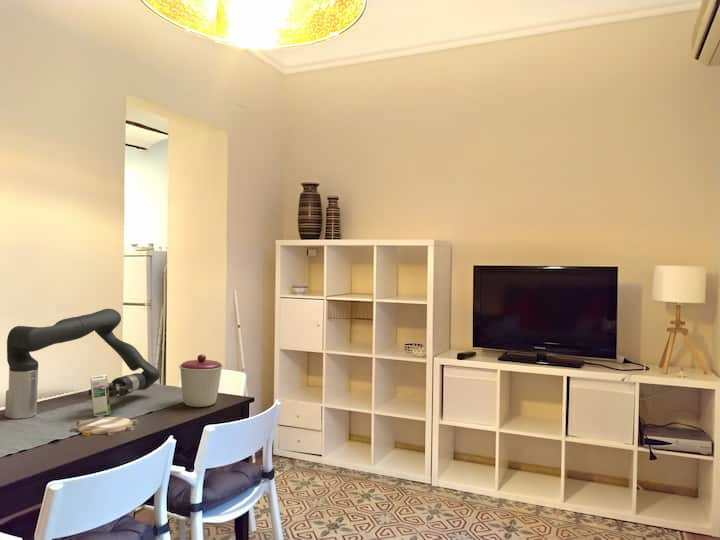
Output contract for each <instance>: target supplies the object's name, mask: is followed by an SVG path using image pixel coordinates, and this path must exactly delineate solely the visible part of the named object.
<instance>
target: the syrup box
mask: <svg viewBox="0 0 720 540" xmlns="http://www.w3.org/2000/svg"><path fill="white" fill-rule="evenodd" d="M89 379H90V389H91V391H92V395H91V401H92V411H93V412H92V413H93V417H94V416H98V417H99V416H103V417H105V416H109V415H111V404H110V403H111V401H110V397H109V387H108V383H109V377H108V375H107V374H103V375H96V376H94V375H93V376H90V378H89Z"/></svg>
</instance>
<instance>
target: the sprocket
mask: <svg viewBox="0 0 720 540" xmlns="http://www.w3.org/2000/svg"><path fill="white" fill-rule="evenodd" d="M77 424H78V425H77ZM138 424H139V420H138V419H130V418H127V416H126V415H125V416H124V415H120V416H98V417H94V418H91V419H87V420H86V419H85V420H83V419H82V420H78V421H76V425H77V426H70V427H71V428H70V431H71V430H72V431H71V432H79V433H81V434H82V435H81V436H87V437H89V436H91V435H107V436H114V435H115V434H116V433H121V431H122V432H124V431H134V430H135V426H134V425H138ZM76 430H78V431H76Z"/></svg>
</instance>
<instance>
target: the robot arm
mask: <svg viewBox="0 0 720 540" xmlns="http://www.w3.org/2000/svg"><path fill="white" fill-rule="evenodd" d="M121 320H122V316H121V313H119V312H118V311H117V310H116V309H112V308H104V309H101V310H99V311H95V312H92V313H87V314H84V315H83V314H82V315H77V316H71V317H67V318H63V319H60V320H59V321H57V322H55V324H53V325H51V326H50V325H48V326H41V327H39V326H37V327H36V326H28V325H27V326H25V325H17V326H14V327H12V328H11V329H10V330H9V333H8V334H7V339H6V361H7V364H8V389H7V390H6V391H5V404H4V405H5V408H4V417H7V418H9V419H14V420H15V419H17V420H19V419H20V418H21V419H28V418H32V417H34V415H35V416H36V415H37V407H38V406H37V405H38V385H39V383H38V382H39V361H38V360H37V359H35V358H34V357H33V356H31V353H32V352H37V351H40V350H43V349H45V348H48V347H50V346H53V345H55V344H56V345H57V344H62V343H66V342H67V343H68V342H72V341H75V340H79V339H81V338H83V337H86V336H88V335H89V334H91V333H93V332H95V333H96V334H97V335H98V336H99V337H100V338H101V339H102V340H103V341H104V342H105V343H106V344H107V345H108V346H110V348H112V349H113V350H114V351H115V352H116V353H117V354H118V355H119V357H120V358H121V359H122V360H123V362H124V363H125V365H126V366H127V367H128V368H129V370H130V371H131V372H135V371H137V370H139V369H140V370H142V372H136V373H131V374H128V375H123V376H120V377H117V378H114V379H113V380H112V381H111V382H109V383H110V384H108V387H109V398H113V397H118V398H119V397H125V396H127V395H129V394H131V393H133V392H136V391H144V390H147V389H149V388H150V387H151V386H152V385H154V384H155V383H156V381H158V380H159V378H160V374H161V373H160V370H159V369H158V368H157V367H155V366H154V365H152V364H151V363H149V362H148V361H147V360H146V359H145V358H144V357H143V356H142V354H141V353H140V352H139V350H138V349H137V348H136V347H135V346H133V345H132V344H130V343H128V342H125V341H123V340H121V339H119V338H118V337H117V336H116V335H115V334H114V333H113V331H114V330H115V329H116V328H117V327H118V326H119V325H120V323H121V322H122V321H121ZM88 395H89V396H92V391H91V388H90V389H89V390H88ZM21 419H20V420H21Z"/></svg>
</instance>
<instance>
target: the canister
mask: <svg viewBox="0 0 720 540" xmlns="http://www.w3.org/2000/svg"><path fill="white" fill-rule="evenodd" d="M178 368H179V369H180V381H181V382H180V383H181V395H182V401H183V404H184V405H186V406H188V407H193V408H203V407H204V408H205V407H209V406H212V405H214V404H215V403H216V401H217V399H218V393H219V388H220V382H221V374H222V370H223V368H224V365H223V364H222V363H221V362H220V361H218V360H212V359H207V356H206V355H205V354H199V355H198V356H197V358H196V359H192V360H191V359H190V360H186V361H184V362H182V363H181V364H179V365H178Z"/></svg>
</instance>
